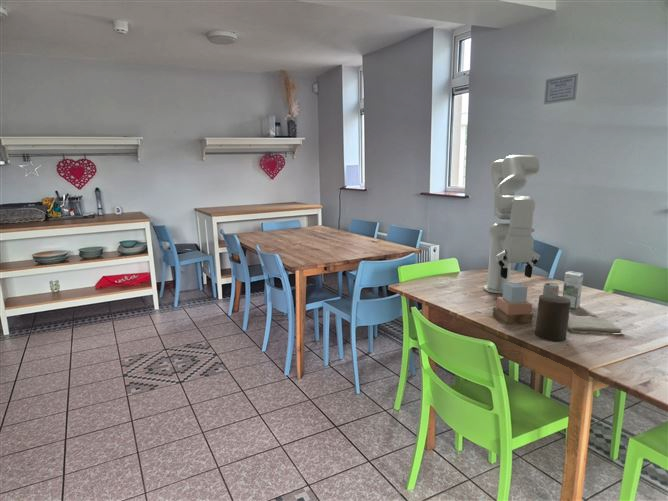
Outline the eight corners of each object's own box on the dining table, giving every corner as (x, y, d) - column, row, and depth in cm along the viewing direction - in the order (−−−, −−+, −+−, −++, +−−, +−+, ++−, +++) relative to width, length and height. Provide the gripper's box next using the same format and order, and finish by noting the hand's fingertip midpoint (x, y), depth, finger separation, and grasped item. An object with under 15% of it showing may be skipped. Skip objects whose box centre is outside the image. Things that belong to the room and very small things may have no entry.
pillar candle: (552, 344, 140) (557, 300, 137) (528, 333, 148) (532, 291, 146) (572, 339, 144) (578, 297, 141) (548, 329, 152) (553, 289, 149)
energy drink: (543, 310, 172) (546, 281, 170) (557, 313, 168) (561, 284, 166) (538, 313, 169) (541, 284, 166) (553, 317, 165) (556, 287, 162)
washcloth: (623, 336, 148) (625, 327, 147) (569, 334, 150) (570, 325, 149) (605, 323, 159) (606, 316, 159) (555, 321, 161) (556, 314, 161)
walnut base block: (516, 315, 168) (517, 305, 167) (531, 324, 158) (532, 314, 157) (492, 316, 166) (493, 306, 165) (506, 325, 156) (507, 315, 156)
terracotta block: (518, 306, 166) (519, 296, 165) (530, 314, 157) (532, 303, 156) (496, 306, 165) (497, 296, 164) (507, 314, 156) (508, 304, 156)
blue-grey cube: (516, 297, 164) (518, 282, 162) (525, 302, 158) (527, 286, 157) (502, 298, 163) (503, 283, 162) (511, 303, 157) (512, 287, 156)
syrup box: (579, 306, 178) (584, 272, 175) (576, 309, 174) (580, 275, 171) (564, 303, 182) (568, 270, 179) (560, 306, 177) (564, 272, 174)
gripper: (535, 229, 160) (531, 273, 164) (492, 230, 158) (489, 275, 161) (548, 233, 153) (543, 279, 157) (503, 234, 150) (499, 280, 154)
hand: (515, 277), depth 159 cm, fingers open, 9 cm apart
